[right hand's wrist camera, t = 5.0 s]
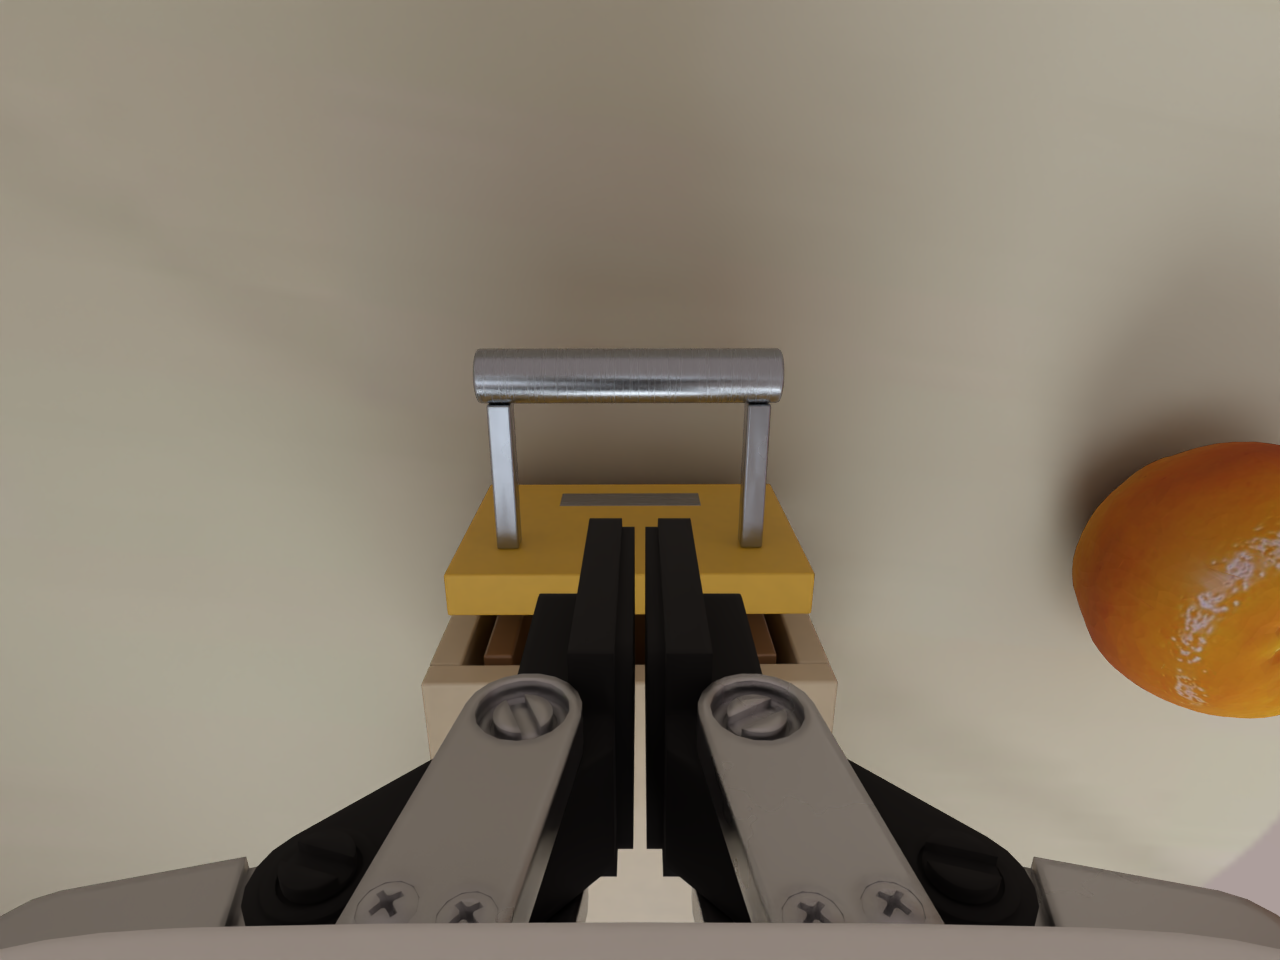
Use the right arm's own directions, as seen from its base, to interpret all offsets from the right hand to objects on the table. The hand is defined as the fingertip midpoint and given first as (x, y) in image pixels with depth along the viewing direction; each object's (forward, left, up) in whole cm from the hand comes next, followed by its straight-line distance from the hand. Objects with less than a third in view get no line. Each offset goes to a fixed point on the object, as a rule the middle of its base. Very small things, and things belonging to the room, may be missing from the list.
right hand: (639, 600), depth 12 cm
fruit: (+4, +19, -13) cm, 23 cm away
